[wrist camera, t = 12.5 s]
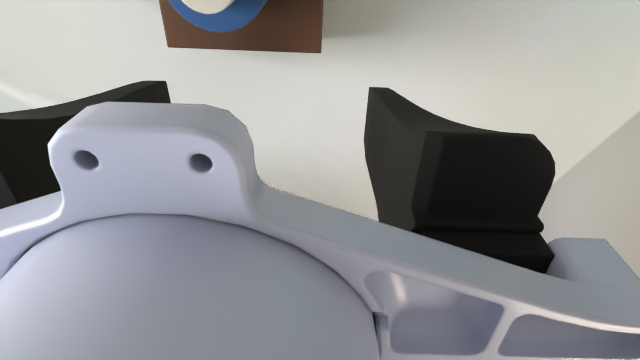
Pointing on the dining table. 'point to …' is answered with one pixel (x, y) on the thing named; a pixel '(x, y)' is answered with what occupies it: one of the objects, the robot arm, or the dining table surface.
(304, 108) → the dining table surface
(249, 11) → the blue bottle
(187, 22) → the walnut block
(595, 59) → the dining table surface
